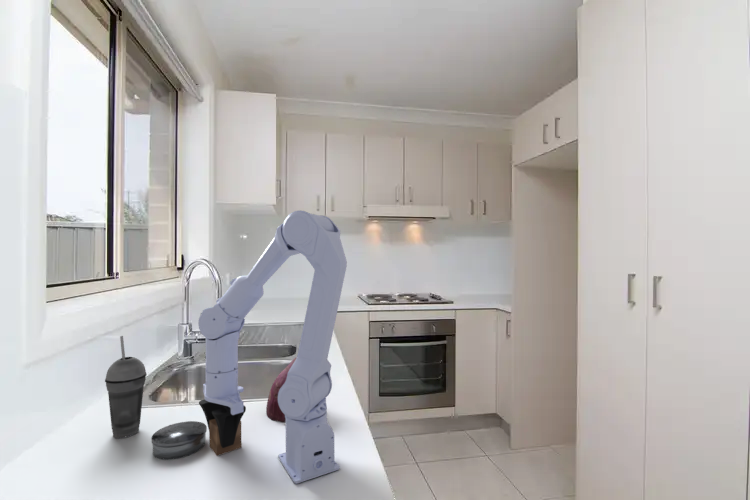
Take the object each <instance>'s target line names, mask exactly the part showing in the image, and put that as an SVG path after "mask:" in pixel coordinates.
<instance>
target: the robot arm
mask: <svg viewBox="0 0 750 500" xmlns="http://www.w3.org/2000/svg"><path fill="white" fill-rule="evenodd" d="M298 254H299V255H300V254H302V255H303V256H304V257H305V258H306V260H307V261H308V262H309V264H310V265H311V266H312V268H313V270H314V273H313V277H312V282H311V287H310V292H309V295H308V296H309V297H308V301H307V306H306V312H305V316H304V320H303V321H304V322H303V325H302V326H303V327H302V331H301V336H300V341H299V346H298V351H297V356H296V357H297V358H296V357H295V358H296V360H295V362H294V363H293V365H292V366H291V368H290V370H289V371H288V374H287V379H286V381H285V383H284V384H283V386H282V387H281V388H280V390H279V393H278V404H279V407H280V409H281V411H282V412H283V413H284V414H285V418H286V422H285V452H283V453H279V454H278V457H277V458H278V460H279V461H280V463H281V464H282V466H283V467H284V469H285V470H286V473H287V474H288V475H289V477H290V479H291V481H293V484H299V483H304V482H306V481H309V480H311V479H314V478H318V477H321V476H323V475H326V474H330V473H333V472H336V471H339V470H340V465H339V464H338V462H337V461H336V460H335V432H334V430H333V428H332V427H331V425H330V424H329V422H328V412H327V411H328V409H327V408H328V405H327V397H328V396H329V395H330V394H331V391H332V387H333V381H332V377H331V369H332V364H331V362H330V361H329V360H328V358H329V354H330V348H331V343H332V338H333V333H334V328H335V323H336V319H337V315H338V310H339V305H340V300H341V295H342V289H343V285H344V281H345V277H346V272H347V266H348V265H347V263H348V262H347V257H346V254H345V250H344V247H343V244H342V241H341V229H340V228H339V227H338V226H337V224H335V223H334V221H333V220H332V219H331V218H330V217H329V216H325V215H319V214H315V213H310V212H307V211H305V210H300V209H299V210H294V211H293V212H291V213H289V214H288V215H287V216H286V217H285V219H284V221H283V223H281V224H280V225H278V226H277V228H276V230H275V234H274V237H273V239H272V240H271V241H270V243H269V244H268V245H267V247H266V248H265V250H264V251H263V253H262V254H261V256H260V257H259V258H258V260H257V261H256V263H255V264H254V265H253V267H252V268H251V270H250V271H249V272H248V274H247V275H244V274H243V275H239V276H238V277H236V278H234V277H233V278H232V280H231V281H230V282H229V285H230V286H229V287H228V289H227V290H226V291H225V292H224V293H223V295H222V296H221V297H218V298H217V299H216V301H215V302H216V304H214V306H210V307H205V308H204V309H203V310H202V311H201V314H200V316H199V318H198V330H199V332H200V333H201V335H202V336H203V337H204V338H205V383H203V384H202V385H203V386H202V394H203V395H204V396H203V397H204V399H201V400H199V402H198V404H199V406H200V408H201V410H202V411H203V414H204V417H205V420H206V423H207V427H208V428H207V430H209V420H212V419H215V420H216V423H217V426H218V430H219V438H220V444H221V447H222V448H225V447H228V446H231V445H233V444H234V441H235V437H236V433H237V429H238V425H239V423H240V420H242V418H243V416H244V414H245V413H246V410H247V408H246V405H244V404H245V403H244V400H243V399H242V398H241V394H240V393H243V392H244V391H245V389H244V387H243V386H240V385H239V365H238V364H239V360H238V359H239V354H238V353H239V351H238V350H239V349H238V348H239V339H240V333H241V331H242V329H243V328H244V327H245V326H244V325H245V320H246V317H247V316H248V314H249V313H250V312H251V311H252V310H253V308H254V307H255V306H256V305H257V303H258V302H259V301H260V300H261V298H263V296H264V285H265V284H266V283H268V281H269V280H270V279H271V277H272V276H273V275H274V274H275V273H277V271H278V270H279V269H280V268H281V267H282V265H284V263H285V262H286V261H287V260H288V259H289V258H291V256H295V255H298Z"/></svg>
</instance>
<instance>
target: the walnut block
mask: <svg viewBox="0 0 750 500" xmlns="http://www.w3.org/2000/svg"><path fill="white" fill-rule="evenodd" d="M241 420H242V419H241ZM241 420H240V423H239V425H238V429H237V433H236V437H235V441H234V444H233V445H231V446H228V447H225V448H222V447H221V444H220V438H219V430H218V426H217V423H216V420H215V419H212V420H209V429H208V432H209V435H208V436H209V437H208V439H209V440H208V441H209V442H208V443H209V444H208V445H209V447H210V449H211V450H212V452H213V453H214V454H215V456H217V457H218V456H222V455H223V454H224V455H225V454H227V453H229V452H233V451H235V450H238V449H241V448H242V421H241Z"/></svg>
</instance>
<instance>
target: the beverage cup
mask: <svg viewBox="0 0 750 500" xmlns="http://www.w3.org/2000/svg"><path fill="white" fill-rule="evenodd" d="M119 339H120V349H121V357H120V358H119V359H117V360H116V361H114V362H113V363H112V364H111V365H110V366H109V367H108V370H107V371H106V374H105V379H104V383H105V387H106V390H107V396H108V405H109V415H110V423H111V424H110V426H111V430H112V431H111V432H112V437H113V438H114V439H125V438H129V437H132V436H134V435H136V434H137V433H139V431H140V425H141V417H142V416H141V415H142V406H143V397H144V395H143V394H144V385H145V383H146V379H147V378H146V377H147V371H146V366H145V364H144V363H143V361H142V360H140V359H139V358H136V357H132V356H126V352H125V344H124V336H123V335H121V336H119Z"/></svg>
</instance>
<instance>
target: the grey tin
mask: <svg viewBox="0 0 750 500" xmlns="http://www.w3.org/2000/svg"><path fill="white" fill-rule="evenodd" d="M207 427H208V425H206V423H204V422H202V421H201V422H200V421H196V420H195V421H194V420H193V421H191V420H189V421H187V420H186V421H181V422H176V423H172V424H169V425H167V426H164V427H162V428H160V429H158V430H157V431H155V432H154V433H153V434H152V435H151V438H150V439H151V441H150V442H151V444H152V456H153V457H154V458H155V459H157V460H165V461H166V460H167V461H170V460H172V461H173V460H177V459H182V458H185V457H189V456H191V455H194V454H195V453H197V452H199V451H200V450H201V449H203V448H204V446H205V445H206V441H207V440H206V438H207V437H206V435H207V434H206V433H207V432H208V428H207Z"/></svg>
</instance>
